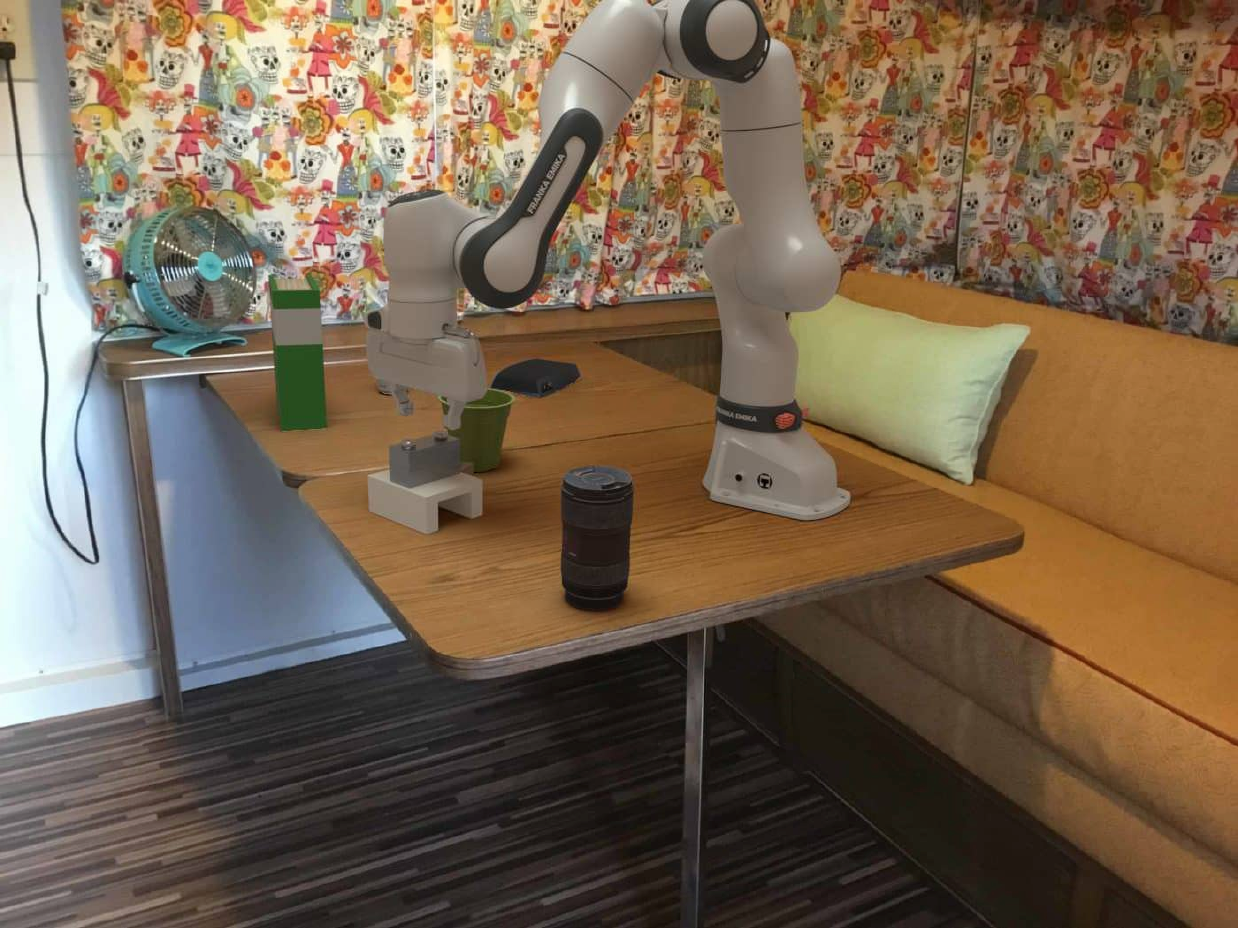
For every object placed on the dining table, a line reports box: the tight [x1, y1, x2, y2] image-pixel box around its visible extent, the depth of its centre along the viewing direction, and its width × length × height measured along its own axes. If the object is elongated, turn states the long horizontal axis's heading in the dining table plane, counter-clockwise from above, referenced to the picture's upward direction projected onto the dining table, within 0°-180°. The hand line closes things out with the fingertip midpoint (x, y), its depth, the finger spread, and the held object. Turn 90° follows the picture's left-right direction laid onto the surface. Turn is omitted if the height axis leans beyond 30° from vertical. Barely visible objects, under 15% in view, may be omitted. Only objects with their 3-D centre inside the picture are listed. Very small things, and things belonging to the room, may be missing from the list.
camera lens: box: [560, 465, 635, 611], centre depth 116 cm, size 8×8×15 cm
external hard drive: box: [489, 357, 581, 399], centre depth 212 cm, size 13×19×4 cm
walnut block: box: [460, 461, 474, 477], centre depth 150 cm, size 4×4×4 cm
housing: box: [388, 430, 460, 489], centre depth 139 cm, size 9×4×6 cm, turn 141°
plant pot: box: [437, 387, 516, 473], centre depth 159 cm, size 12×12×11 cm
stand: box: [367, 468, 483, 535], centre depth 140 cm, size 12×10×5 cm
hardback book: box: [267, 273, 328, 432], centre depth 179 cm, size 18×7×24 cm, turn 20°
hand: (428, 421), depth 137 cm, fingers open, 8 cm apart
